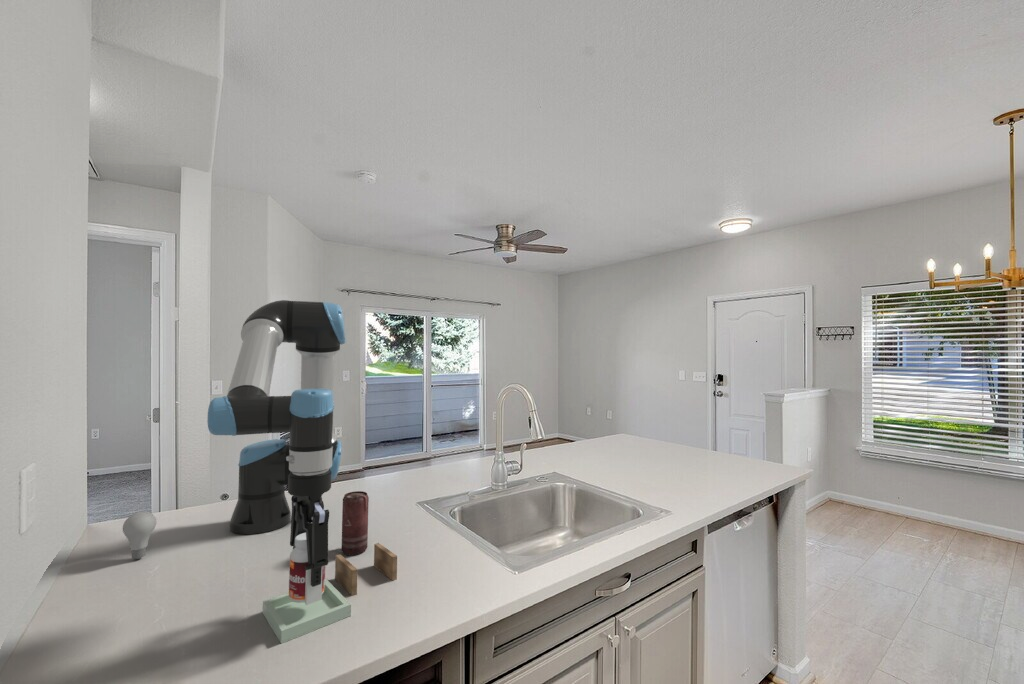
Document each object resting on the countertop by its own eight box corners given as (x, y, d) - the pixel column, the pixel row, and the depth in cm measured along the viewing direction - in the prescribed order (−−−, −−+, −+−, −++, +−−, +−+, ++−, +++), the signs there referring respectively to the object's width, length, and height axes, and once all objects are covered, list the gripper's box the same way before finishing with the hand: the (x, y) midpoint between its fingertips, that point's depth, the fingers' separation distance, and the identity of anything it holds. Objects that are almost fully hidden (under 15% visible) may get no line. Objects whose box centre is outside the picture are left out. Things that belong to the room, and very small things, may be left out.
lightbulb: (114, 562, 102) (116, 514, 102) (144, 551, 108) (146, 506, 108) (131, 567, 100) (133, 518, 100) (161, 555, 105) (162, 509, 106)
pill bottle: (280, 599, 81) (282, 539, 81) (307, 584, 87) (309, 527, 87) (306, 607, 79) (307, 545, 79) (331, 590, 84) (333, 532, 85)
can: (359, 557, 106) (361, 499, 106) (336, 554, 107) (337, 496, 108) (372, 546, 112) (374, 491, 112) (350, 544, 113) (351, 489, 114)
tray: (262, 612, 83) (262, 601, 83) (326, 590, 91) (327, 579, 91) (281, 643, 74) (281, 631, 74) (350, 615, 82) (351, 604, 82)
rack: (334, 578, 96) (335, 555, 96) (377, 564, 103) (378, 542, 103) (352, 595, 89) (352, 570, 89) (396, 579, 96) (397, 556, 96)
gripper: (274, 464, 88) (270, 581, 87) (306, 485, 74) (302, 625, 73) (313, 458, 93) (310, 569, 92) (350, 477, 79) (347, 608, 78)
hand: (307, 593), depth 83 cm, fingers closed on pill bottle, 6 cm apart
